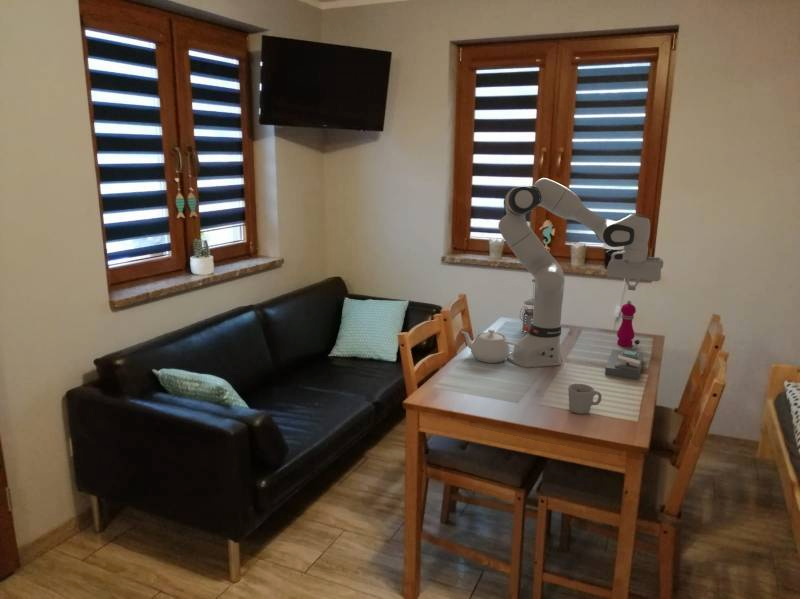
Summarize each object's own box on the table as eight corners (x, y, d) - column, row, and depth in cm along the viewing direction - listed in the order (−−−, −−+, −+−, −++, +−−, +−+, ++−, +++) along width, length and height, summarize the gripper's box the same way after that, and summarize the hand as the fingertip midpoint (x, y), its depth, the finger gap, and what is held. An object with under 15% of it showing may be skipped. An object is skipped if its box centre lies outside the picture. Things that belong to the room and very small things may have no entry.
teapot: (523, 359, 244) (525, 330, 241) (510, 369, 230) (512, 339, 228) (467, 348, 256) (468, 321, 253) (452, 358, 243) (453, 329, 240)
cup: (595, 406, 198) (597, 383, 196) (604, 416, 191) (606, 392, 189) (563, 406, 198) (565, 383, 196) (570, 416, 190) (573, 392, 188)
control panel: (638, 380, 222) (640, 364, 220) (604, 374, 227) (606, 359, 225) (642, 360, 243) (644, 346, 242) (611, 356, 248) (613, 342, 246)
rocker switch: (638, 368, 223) (639, 364, 222) (616, 362, 226) (617, 358, 225) (639, 364, 227) (640, 360, 226) (617, 358, 230) (618, 354, 229)
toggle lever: (633, 354, 239) (640, 341, 237) (628, 352, 240) (635, 339, 238) (633, 353, 241) (640, 340, 239) (629, 350, 241) (635, 338, 239)
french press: (545, 331, 281) (549, 280, 275) (527, 335, 275) (530, 282, 270) (531, 326, 289) (534, 276, 283) (513, 329, 284) (516, 278, 278)
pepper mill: (612, 343, 266) (616, 299, 261) (624, 341, 268) (629, 298, 264) (624, 347, 259) (629, 303, 254) (637, 345, 262) (641, 301, 257)
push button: (635, 362, 231) (635, 355, 230) (622, 360, 232) (623, 353, 232) (635, 359, 234) (636, 351, 234) (624, 357, 236) (624, 350, 236)
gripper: (664, 256, 233) (660, 291, 237) (609, 252, 242) (606, 285, 245) (663, 259, 228) (659, 294, 231) (607, 254, 236) (604, 288, 240)
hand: (631, 289), depth 238 cm, fingers closed
